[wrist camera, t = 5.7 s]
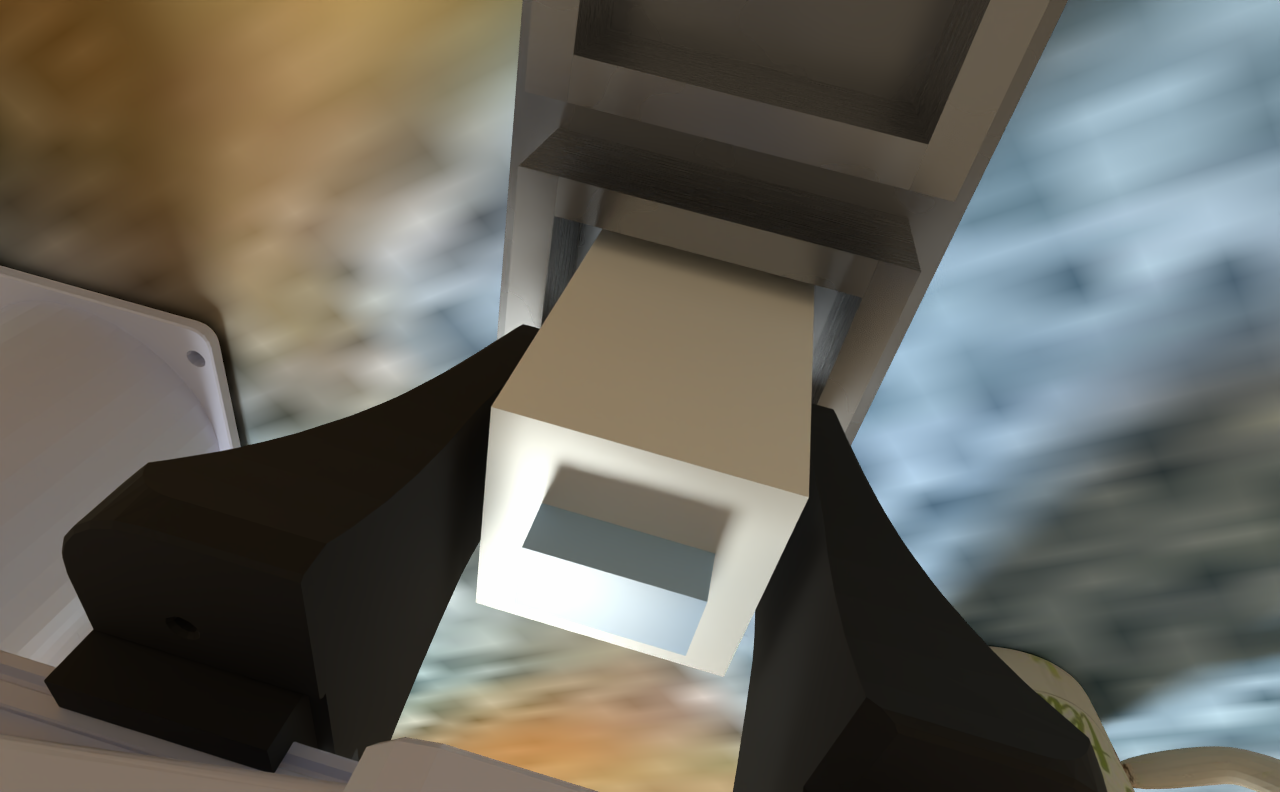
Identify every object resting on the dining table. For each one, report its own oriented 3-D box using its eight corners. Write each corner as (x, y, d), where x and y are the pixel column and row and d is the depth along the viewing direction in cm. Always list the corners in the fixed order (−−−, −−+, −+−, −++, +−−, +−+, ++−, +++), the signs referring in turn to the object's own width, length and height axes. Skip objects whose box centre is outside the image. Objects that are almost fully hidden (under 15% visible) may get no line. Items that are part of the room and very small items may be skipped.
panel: (827, 478, 18) (827, 563, 16) (499, 387, 18) (455, 457, 16) (1248, -398, 9) (1391, -490, 7) (576, -537, 9) (498, -667, 7)
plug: (757, 408, 17) (717, 726, 10) (591, 361, 17) (454, 645, 11) (815, 252, 14) (807, 547, 8) (619, 201, 14) (465, 447, 8)
